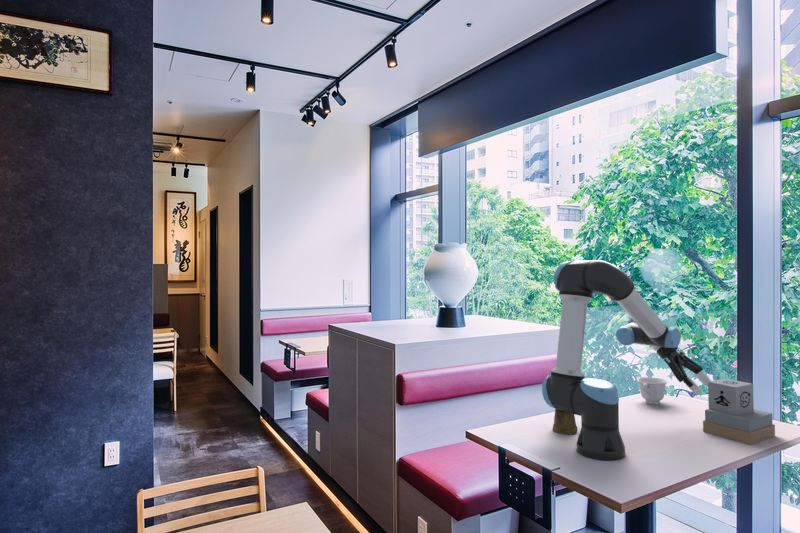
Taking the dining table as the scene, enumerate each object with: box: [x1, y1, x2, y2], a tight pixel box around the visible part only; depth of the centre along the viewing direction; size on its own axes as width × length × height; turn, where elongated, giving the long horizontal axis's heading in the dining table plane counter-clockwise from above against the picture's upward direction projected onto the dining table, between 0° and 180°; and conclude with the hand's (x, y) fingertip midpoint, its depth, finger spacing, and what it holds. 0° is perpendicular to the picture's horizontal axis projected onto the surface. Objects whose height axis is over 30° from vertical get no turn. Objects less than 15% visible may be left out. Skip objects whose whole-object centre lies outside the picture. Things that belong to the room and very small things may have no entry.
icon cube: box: [707, 378, 755, 416], centre depth 184 cm, size 10×10×10 cm
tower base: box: [702, 408, 776, 446], centre depth 182 cm, size 16×16×8 cm
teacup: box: [636, 376, 668, 405], centre depth 223 cm, size 12×15×10 cm
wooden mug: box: [552, 408, 578, 435], centre depth 192 cm, size 9×14×18 cm, turn 128°
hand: (706, 390), depth 190 cm, fingers open, 13 cm apart
